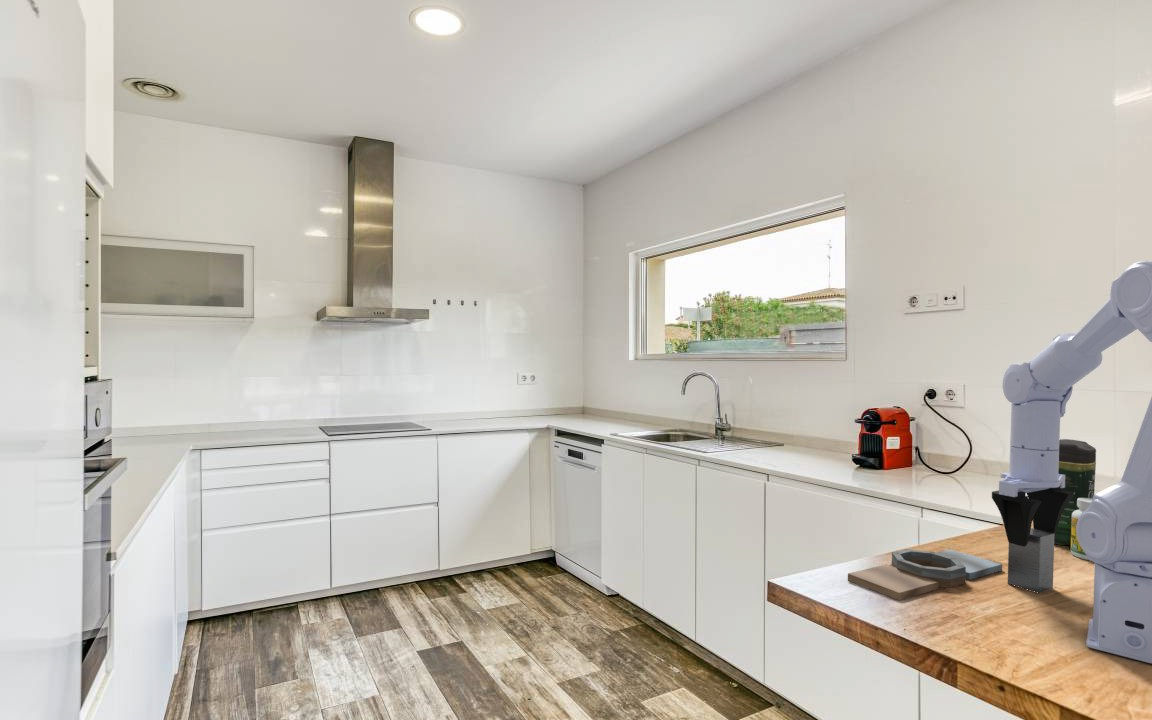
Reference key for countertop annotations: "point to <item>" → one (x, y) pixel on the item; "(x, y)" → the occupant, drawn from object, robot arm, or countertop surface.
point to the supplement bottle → (1075, 546)
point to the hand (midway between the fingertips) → (1031, 540)
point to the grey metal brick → (1032, 562)
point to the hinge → (923, 572)
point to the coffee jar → (1075, 481)
